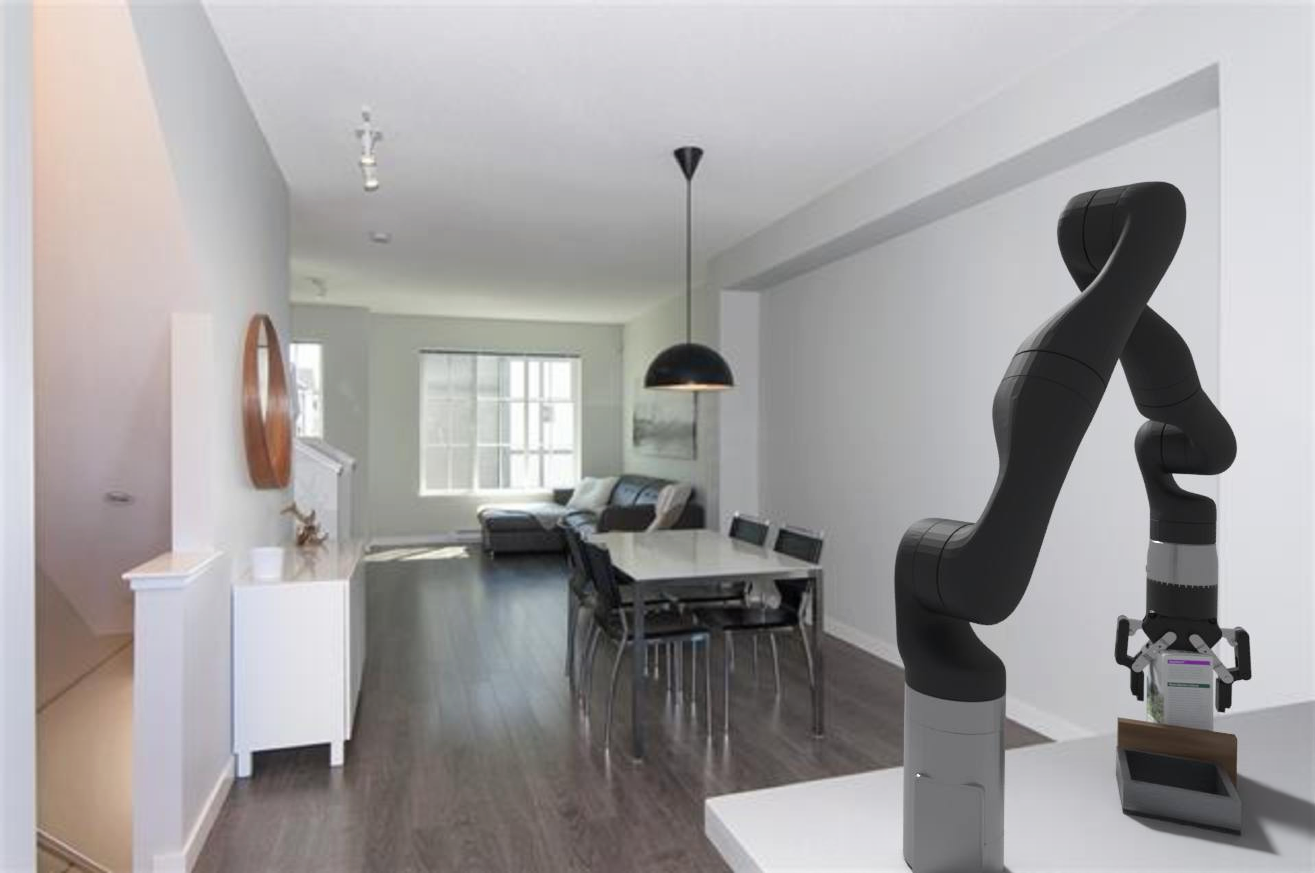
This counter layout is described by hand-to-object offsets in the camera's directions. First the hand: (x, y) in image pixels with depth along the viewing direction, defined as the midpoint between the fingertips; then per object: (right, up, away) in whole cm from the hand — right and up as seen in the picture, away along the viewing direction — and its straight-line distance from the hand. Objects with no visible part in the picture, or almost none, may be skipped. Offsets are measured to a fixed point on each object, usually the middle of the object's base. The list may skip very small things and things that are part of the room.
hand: (1179, 704), depth 100 cm
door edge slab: (-3, -7, -4) cm, 9 cm away
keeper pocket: (-8, -7, -11) cm, 15 cm away
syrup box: (0, -8, 0) cm, 8 cm away
